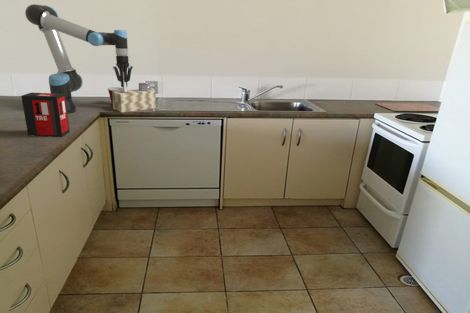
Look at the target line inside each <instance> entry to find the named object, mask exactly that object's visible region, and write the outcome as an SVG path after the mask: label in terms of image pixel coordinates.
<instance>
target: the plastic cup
mask: <svg viewBox="0 0 470 313" xmlns="http://www.w3.org/2000/svg"><path fill="white" fill-rule="evenodd" d="M106 89H107V91H108V94H109V98H110V102H111V105H112V106H113V98H112V92H113V91H123V89H122V87H121V86H120V87H119V86H118V87H117V86H110V87H107V88H106Z"/></svg>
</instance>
